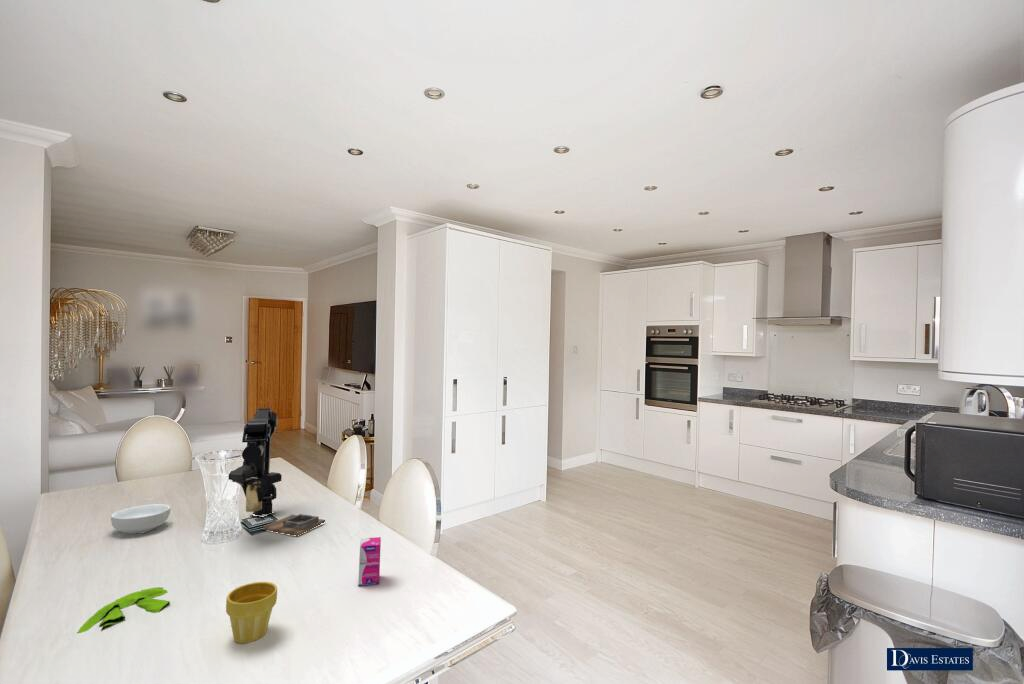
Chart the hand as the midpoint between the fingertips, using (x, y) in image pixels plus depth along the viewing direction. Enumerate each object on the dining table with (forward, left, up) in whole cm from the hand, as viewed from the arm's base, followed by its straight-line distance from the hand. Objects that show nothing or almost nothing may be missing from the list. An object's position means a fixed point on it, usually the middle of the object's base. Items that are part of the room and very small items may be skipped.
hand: (254, 500), depth 162 cm
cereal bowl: (-43, -9, -13) cm, 46 cm away
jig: (+6, +13, -13) cm, 19 cm away
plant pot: (+47, -43, -13) cm, 65 cm away
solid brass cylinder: (0, 0, -3) cm, 3 cm away
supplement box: (+57, -12, -13) cm, 60 cm away
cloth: (+11, -46, -14) cm, 49 cm away
